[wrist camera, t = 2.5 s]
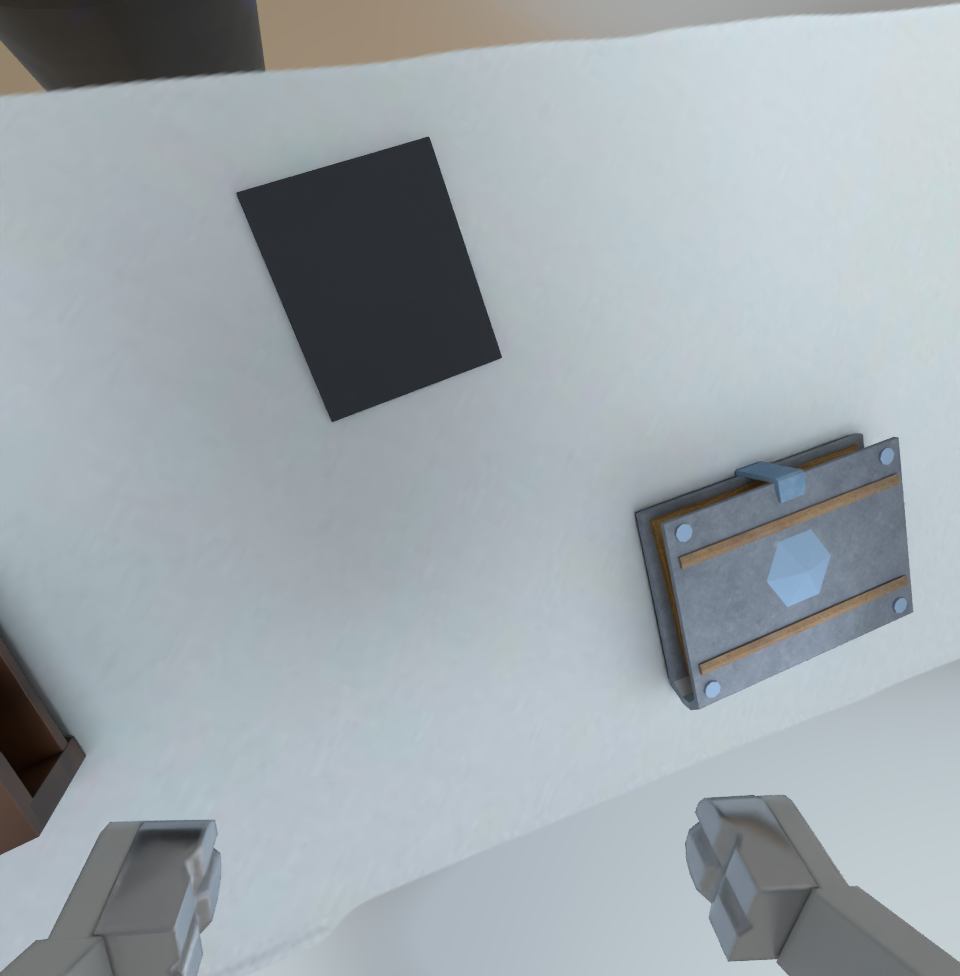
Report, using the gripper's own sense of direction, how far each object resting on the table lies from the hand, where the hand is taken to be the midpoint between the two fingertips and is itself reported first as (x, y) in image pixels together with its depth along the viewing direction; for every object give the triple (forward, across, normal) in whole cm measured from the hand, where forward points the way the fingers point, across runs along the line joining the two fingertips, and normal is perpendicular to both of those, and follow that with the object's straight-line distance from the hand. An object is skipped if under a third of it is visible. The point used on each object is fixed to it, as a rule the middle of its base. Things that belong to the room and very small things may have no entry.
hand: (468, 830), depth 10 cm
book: (+33, -29, +14) cm, 46 cm away
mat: (+33, +3, -5) cm, 34 cm away
